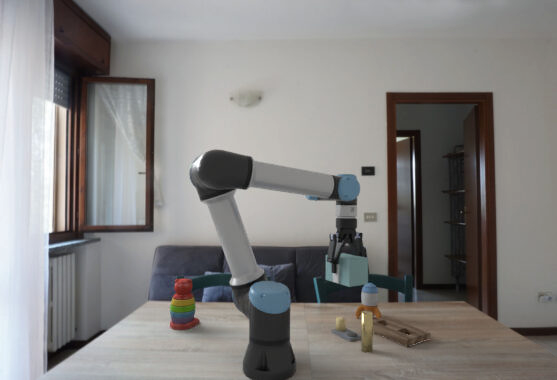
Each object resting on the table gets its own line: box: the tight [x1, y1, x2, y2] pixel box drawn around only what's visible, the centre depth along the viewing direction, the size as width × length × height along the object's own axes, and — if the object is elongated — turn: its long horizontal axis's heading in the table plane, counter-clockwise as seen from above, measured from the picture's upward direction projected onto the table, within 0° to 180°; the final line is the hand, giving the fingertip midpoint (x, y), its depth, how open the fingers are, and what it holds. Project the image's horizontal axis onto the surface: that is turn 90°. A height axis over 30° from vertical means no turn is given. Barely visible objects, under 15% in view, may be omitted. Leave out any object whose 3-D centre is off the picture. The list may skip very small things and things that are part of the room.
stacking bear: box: [169, 278, 201, 331], centre depth 136 cm, size 11×10×18 cm
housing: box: [325, 252, 369, 288], centre depth 127 cm, size 9×13×9 cm
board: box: [373, 316, 432, 347], centre depth 128 cm, size 12×20×2 cm, turn 31°
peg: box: [360, 311, 374, 353], centre depth 114 cm, size 4×4×12 cm
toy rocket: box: [355, 282, 382, 319], centre depth 145 cm, size 10×11×15 cm
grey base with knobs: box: [331, 316, 361, 342], centre depth 127 cm, size 6×10×5 cm, turn 31°
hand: (346, 280), depth 127 cm, fingers closed on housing, 9 cm apart
